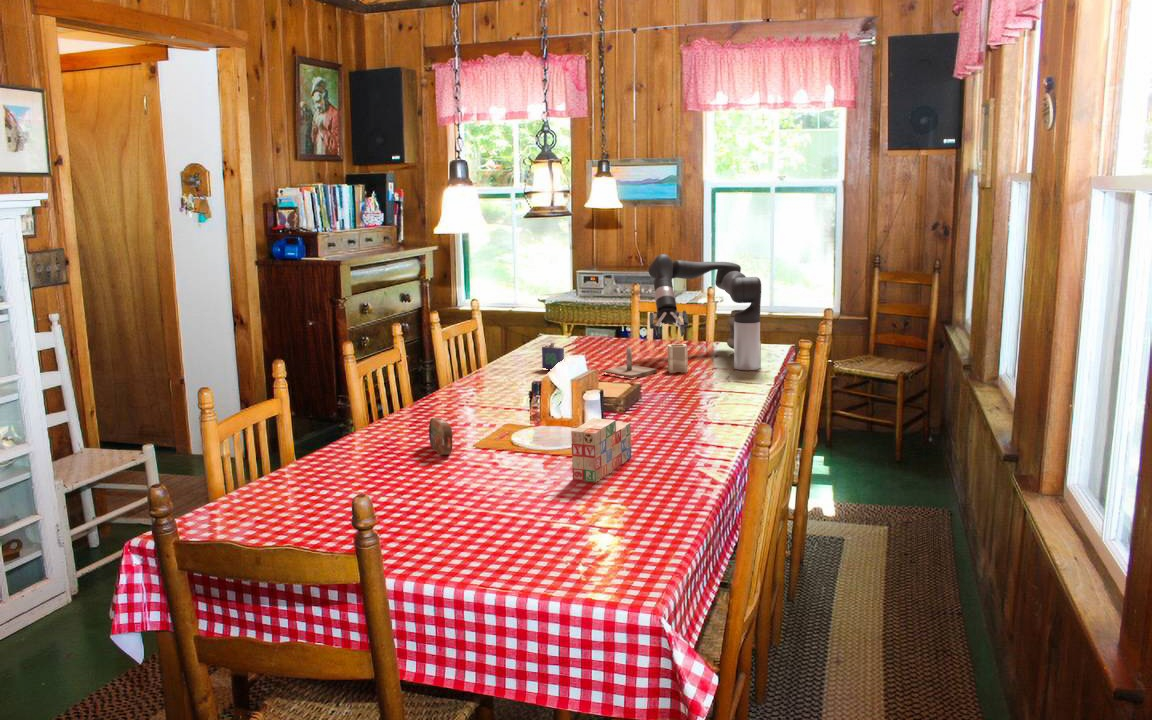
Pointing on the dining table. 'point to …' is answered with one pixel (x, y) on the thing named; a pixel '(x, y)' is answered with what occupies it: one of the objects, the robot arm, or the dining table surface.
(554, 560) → the dining table surface
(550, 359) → the flask
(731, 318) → the apothecary jar
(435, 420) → the tin
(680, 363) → the tan upright block
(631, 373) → the post base
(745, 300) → the robot arm
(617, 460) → the stack of blocks
